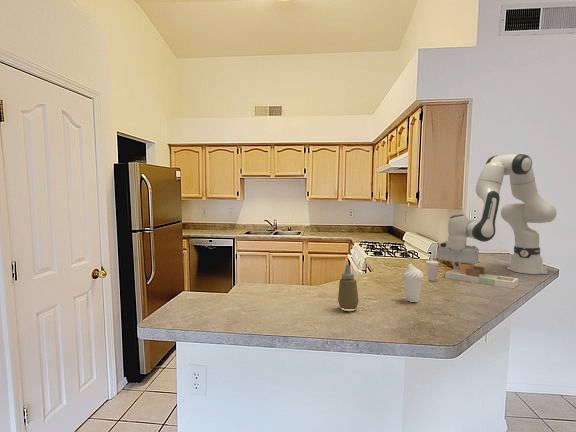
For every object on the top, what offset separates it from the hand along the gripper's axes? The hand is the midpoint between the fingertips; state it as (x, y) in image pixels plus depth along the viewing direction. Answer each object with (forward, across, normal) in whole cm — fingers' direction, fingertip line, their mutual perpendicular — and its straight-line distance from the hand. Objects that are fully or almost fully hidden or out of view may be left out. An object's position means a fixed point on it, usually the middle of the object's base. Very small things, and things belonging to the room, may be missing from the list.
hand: (456, 269), depth 169 cm
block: (+1, -5, 0) cm, 5 cm away
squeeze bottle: (+4, +10, +81) cm, 82 cm away
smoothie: (+4, +7, +14) cm, 16 cm away
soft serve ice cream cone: (+4, -3, +54) cm, 54 cm away
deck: (+4, -11, 0) cm, 12 cm away
